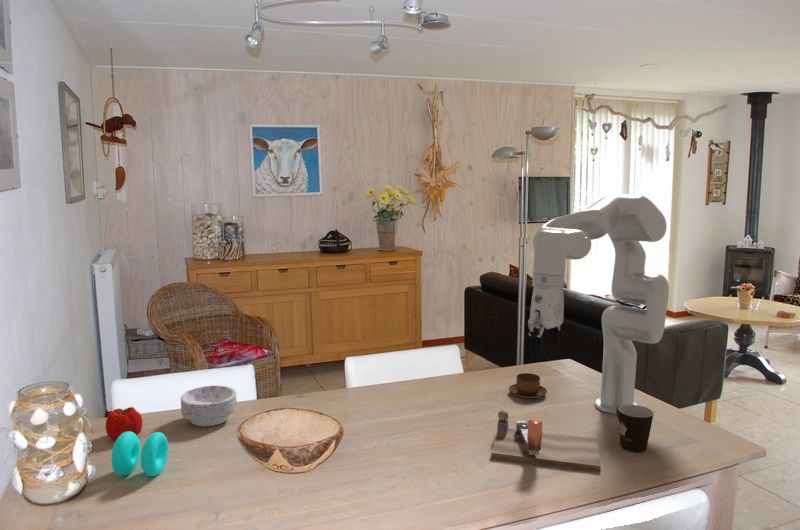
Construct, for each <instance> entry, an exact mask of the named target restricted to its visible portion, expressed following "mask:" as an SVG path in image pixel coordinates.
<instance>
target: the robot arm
mask: <svg viewBox="0 0 800 530" xmlns="http://www.w3.org/2000/svg"><path fill="white" fill-rule="evenodd" d="M666 220H667V219H666V218H665V216H664V214H663V212H662V211H661V210H660V209H659V208H658V207H657V206H656V204H654V202H653V201H652V200H651V199H649V198H647V197H646V196H644V195H641V194H640V195H639V194H615V193H614V194H613V193H612V194H608V195H605V196H603V197H601V198H600V199H599V200H597V201H596V202H594V203H593V204H591V205H590V206H589V207H588V208H586V209H584V210H580V211H576V212H573V213H569V214H565V215H562V216H558V217H555V218H553V219H551V220H549V221H547V222H546V223H544V224H543V225H542V226H541V227H539V228H538V229H537V231H536V232H535V234H534V236H533V239H532V246H533V267H532V279H531V280H532V283H531V286H532V287H533V289H532V294H531V302H530V312H529V319H528V321H527V325H528V328H527V329H528V336H529V341H528V352H529V353H533V354H537V355H541V354H542V353H543V342H544V341H543V334H544V330H546V336H545V337H546V340H545V345H547V346H551V347H558V346H559V345H560V343H559V341H560V330H561V325H562V324H563V323H564V319H565V318H564V313H565V312H564V311H565V310H564V309H565V296H564V295H565V294H564V287H565V276H566V275H565V273H566V270H565V269H566V260H581V259H584V258H585V257H586V256H588V254H589V253H590V251H591V249H592V240H593V241H594V240H599V239H601V238H603V237H604V236H605V235H607V236H608V237H609V239H610V240H611V243H612V244H613V245H612V246H613V248H614V254H615V255H614V265H613V271H612V272H613V273H612V280H611V296H612V297H613V298H614V299H616V300H618V301H622V302H624V303H625V302H626V303H631V304H632V303H633V304H638V305H644V306H645V308H646V309H645V308H644V309H643V308H637V307H633V306H626V305H611V306H608V307H607V308H605V309H604V310H603V312H602V315H601V328H602V337H603V351H602V352H603V353H602V354H603V355H602V356H603V357H602V369H601V385H600V386H601V387H600V397H599V398H596V400H594V401H595V403H594V405H595V407H596V408H597V409H598V410H600V411H602V412H605V413H608V414H610V415H616V416H617V413H616V410H617V407H618V406H622V405H638V403H636V402H635V385H636V372H637V371H636V370H637V358H638V357H637V355H638V354H637V350H636V347H635V345H634V343H633V341H634V342H639V343H645V344H651V345H653V344H658V343H659V342H660V341H661V339H662V338H663V335H664V332H665V325H666V318H667V310H668V304H669V303H668V302H669V297H670V295H669V294H670V288H669V287H670V285H669V282H668V280H667V278H666V277H665V276H664V275H663V274H660V273H657V272H656V273H655V272H647V271H645V270H646V269H645V268H646V267H645V266H646V260H647V255H646V251H645V249H644V246H643V245H642V244H641V242H648V243H655V242H658V241H660V240H662V239H663V238H664V236H665V235H666V232H667V221H666Z"/></svg>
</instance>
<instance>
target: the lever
mask: <svg viewBox="0 0 800 530" xmlns="http://www.w3.org/2000/svg"><path fill="white" fill-rule="evenodd" d="M515 424H516V425H515V427H516V429H517V431H516V432H517V433H518V434H520V436H521V438H522V440H523V443H524V445H525V447H526V449H527V452H528V454H529V455H539V450H541V444H542V432H543V421H542V420H539V419H535V418H534V419H528V421H526V420H516V423H515Z"/></svg>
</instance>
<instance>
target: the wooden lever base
mask: <svg viewBox="0 0 800 530" xmlns="http://www.w3.org/2000/svg"><path fill="white" fill-rule="evenodd" d="M497 417H498V421H497V427H496V428H497V431H496V434H495V438H494V442H493V446H492V450H491V457H490V458H491V459H492V460H502V461H509V462H517V463H524V464H525V463H526V464H531V465H532V464H534V465H538V466H539V465H541V466H549V467H555V468H556V467H557V468H558V467H559V468H563V469H564V468H565V469H571V470H572V469H573V470H580V471H581V470H582V471H587V472H589V471H590V472H597V473H601V465H602V464H601V459H600V458H601V457H600V449H599V442H598V441H599V440H598V438H596V437H587V436H577V435H571V434H560V433H551V432H543V431H542V444H541V450H539V455H529V454H528V452H527V449H526V447H525V445H524V443H523V440H522V438H521V436H520V434H518V433H517V432H516V431H517V428H509V413H508V411H507V410H505V409H502V410H500V411H498V413H497Z"/></svg>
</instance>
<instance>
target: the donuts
mask: <svg viewBox="0 0 800 530" xmlns="http://www.w3.org/2000/svg"><path fill="white" fill-rule="evenodd" d="M111 450H112V452H111V460H110V461H111V466H112V467H111V468H112V470H113V471H114V473H115V474H116V475H118V476H120V477H121V476H123V477H124V476H128V475H130V474H131V473H132V472H133V471H134V470H135V469H136V467H137V466H138V462H139V460H140V466H141V469H142V471H143V472H144V474H146V475H147V476H149V477H156V476H158V475H160V473H161V472H162V471H163V470H164V468H165V466H166V463H167V460H168V457H169V455H168V454H169V443H168V437H167V436H166V435H165V434H164V433H163V432H160V431H154V432H153V433H150V435H148V437H146V439H145V441H144V442H143V444H142V448H141V442H140V439H139V437H138V435H136V434H135V433H133V432H130V431H128V432H124V433H122V434H121V435H120V436H119V437H118V438H117V440H115V442H114V444H113V447H112V449H111Z"/></svg>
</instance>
